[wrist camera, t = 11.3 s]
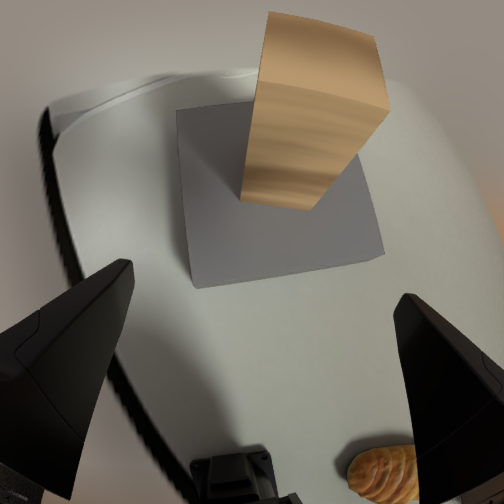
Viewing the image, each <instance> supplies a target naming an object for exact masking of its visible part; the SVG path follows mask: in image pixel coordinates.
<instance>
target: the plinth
mask: <svg viewBox="0 0 504 504" xmlns="http://www.w3.org/2000/svg"><path fill="white" fill-rule="evenodd" d="M253 105H254V102H245V103H233V104H223V105H213V106H205V107H197V108H190V109H183V110H176V119H177V136H178V151H179V164H180V176H181V188H182V198H183V208H184V218H185V227H186V236H187V244H188V252H189V260H190V268H191V275H192V282H193V286H194V287H195V288H197V289H200V288H207V287H214V286H221V285H227V284H234V283H240V282H247V281H253V280H260V279H266V278H272V277H278V276H284V275H290V274H297V273H302V272H308V271H314V270H320V269H326V268H332V267H337V266H343V265H348V264H354V263H359V262H365V261H369V260H372V259H374V258H377V257H379V256H382V255H384V254H385V252H384V247H383V243H382V238H381V234H380V230H379V226H378V222H377V218H376V214H375V211H374V207H373V203H372V200H371V196H370V192H369V189H368V186H367V182H366V179H365V176H364V172H363V169H362V166H361V163H360V160H359V157H358V154H356V155H355V156H354V158H353V159H352V160H351V161H350V163H349V164H348V165H347V166H346V168H345V169H344V170H343V171H342V173H341V174H340V175H339V176H338V177H337V179H336V180H335V181H334V182H333V184H332V185H331V186H330V187H329V189H328V190H327V191H326V192H325V193H324V195H323V196H322V197H321V198H320V200H319V201H318V202H317V203H316V204H315V206H314V207H313V208H312V209H311V211H305V210H299V209H292V208H285V207H278V206H271V205H264V204H257V203H249V202H242V201H240V196H241V188H242V181H243V174H244V166H245V159H246V152H247V145H248V138H249V131H250V125H251V118H252V112H253Z"/></svg>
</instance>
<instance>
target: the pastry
mask: <svg viewBox="0 0 504 504" xmlns="http://www.w3.org/2000/svg"><path fill="white" fill-rule="evenodd" d="M347 481H348V487H349V489H351V490H353V491H354V492H356V493H358V494H359V495H360V497H363V498H366V499H368V500H370V501H372V502H374V503H377V504H407V503H408V502H412V501H415V500H419V487H418V474H417V463H416V453H415V445H412V444H409V445H394V446H388V447H379V448H372V449H370V450H368V451H365V452H362V453H360V454H358V455H357V456H356V457H355V458H354V460H353V461H352V463H351V464H350V466H349V468H348V471H347Z"/></svg>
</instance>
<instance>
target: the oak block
mask: <svg viewBox="0 0 504 504" xmlns="http://www.w3.org/2000/svg"><path fill="white" fill-rule="evenodd" d="M390 111H391V110H390V104H389V99H388V94H387V89H386V84H385V80H384V75H383V71H382V66H381V63H380V58H379V54H378V50H377V47H376V43H375V39H374V36H371V35H368V34H365V33H362V32H359V31H355V30H352V29H349V28H345V27H341V26H338V25H334V24H330V23H326V22H322V21H318V20H314V19H309V18H304V17H299V16H294V15H289V14H283V13H276V12H269V14H268V20H267V26H266V32H265V37H264V43H263V49H262V55H261V61H260V67H259V73H258V80H257V86H256V92H255V99H254V105H253V112H252V118H251V125H250V131H249V138H248V145H247V152H246V159H245V166H244V174H243V181H242V188H241V196H240V201H242V202H249V203H257V204H264V205H271V206H278V207H285V208H292V209H299V210H305V211H311V209H312V208H313V207H314V206H315V204H316V203H317V202H318V201H319V200H320V198H321V197H322V196H323V195H324V193H325V192H326V191H327V190H328V189H329V187H330V186H331V185H332V184H333V182H334V181H335V180H336V179H337V177H338V176H339V175H340V174H341V173H342V171H343V170H344V169H345V168H346V166H347V165H348V164H349V163H350V161H351V160H352V159H353V158H354V156H355V155H356V154H357V153H358V151H359V150H360V149H361V148H362V146H363V145H364V144H365V143H366V141H367V140H368V139H369V138H370V136H371V135H372V134H373V133H374V131H375V130H376V129H377V128H378V126H379V125H380V124H381V123H382V121H383V120H384V119H385V117H386V116H387V115H388V114H389V112H390Z"/></svg>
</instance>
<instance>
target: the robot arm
mask: <svg viewBox="0 0 504 504" xmlns="http://www.w3.org/2000/svg"><path fill="white" fill-rule="evenodd" d="M134 285H135V279H134V271H133V263H132V261H131V260H128V259H122V258H120V259H117V260H116V261H114V262H112V263H111V264H109V265H107V266H106V267H104V268H102V269H101V270H99V271H98V272H96V273H94V274H93V275H91V276H89V277H88V278H86V279H85V280H83V281H81V282H80V283H78V284H77V285H75V286H74V287H72V288H70V289H69V290H67V291H66V292H64V293H63V294H61V295H60V296H58V297H57V298H55V299H53V300H52V301H50V302H49V303H47V304H46V305H45V306H43V307H41V308H40V310H37V311H35V312H34V313H32V314H31V315H29V316H28V317H26V318H25V319H23V320H22V321H20V322H19V323H17V324H15V325H14V326H12V327H10V328H9V329H7V330H6V331H4V332H2V333H0V504H41V501H42V497H43V493H44V490H46V491H49V492H51V493H53V494H55V495H57V496H60V497H62V498H64V499H66V500H69V501H70V499H71V495H72V491H73V486H74V482H75V477H76V473H77V469H78V465H79V461H80V457H81V453H82V450H83V446H84V443H83V442H85V438H86V434H87V431H88V428H89V424H90V421H91V418H92V415H93V411H94V408H95V405H96V401H97V399H98V396H99V393H100V390H101V386H102V384H103V381H104V378H105V375H106V372H107V369H108V367H109V364H110V361H111V358H112V355H113V353H114V350H115V347H116V345H117V342H118V339H119V337H120V334H121V332H122V329H123V326H124V322H125V318H126V315H127V311H128V307H129V304H130V300H131V296H132V293H133V290H134ZM393 318H394V324H395V331H396V338H397V346H398V353H399V358H400V363H401V368H402V372H403V377H404V382H405V387H406V393H407V398H408V404H409V410H410V416H411V422H412V429H413V436H414V444H415V453H416V463H417V474H418V487H419V504H443V503H445V502H448V501H450V500H452V499H455V498H457V497H459V496H460V500H461V504H504V370H503V369H502V368H501V367H500V366H498V365H497V364H496V363H495V362H494V361H493V360H492V359H490V358H489V357H488V356H487V355H486V354H485V353H484V352H483V351H481V350H480V349H479V348H478V347H477V346H476V345H475V344H474V343H473V342H471V341H470V340H469V339H468V338H467V337H466V336H465V335H463V334H462V333H461V332H460V331H459V330H458V329H457V328H455V327H454V326H453V325H452V324H451V323H449V322H448V321H447V320H446V319H445V318H444V317H442V316H441V315H440V314H439V313H438V312H436V311H435V310H434V309H433V308H432V307H430V306H429V305H428V304H427V303H425V302H424V301H423V300H422V299H421V298H419V297H418V296H417V295H415V294H411V293H405V294H403V295H402V297H401V299H400V301H399V303H398V304H397V306H396V308H395V310H394V314H393ZM263 455H266V456H267V457H266V458H261V457H262V456H263ZM195 464H196V465H198V467H194V466H193V465H195ZM189 467H190V471H191V474H192V477H193V480H194V484H195V487H196V490H197V493H198V496H199V504H303V503H302V502H301V500H300V499H299V497H298V495H297V494H296V492H295V493H291V494H288V496H285V497H281V498H279V496H278V491H277V486H276V481H275V476H274V470H273V465H272V460H271V456H270V453H269V452H268V451H259V452H254V453H248V454H245V453H236V454H229V455H221V456H213V457H212V458H210V459H199V460H192V461H191V462H190V465H189Z"/></svg>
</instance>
